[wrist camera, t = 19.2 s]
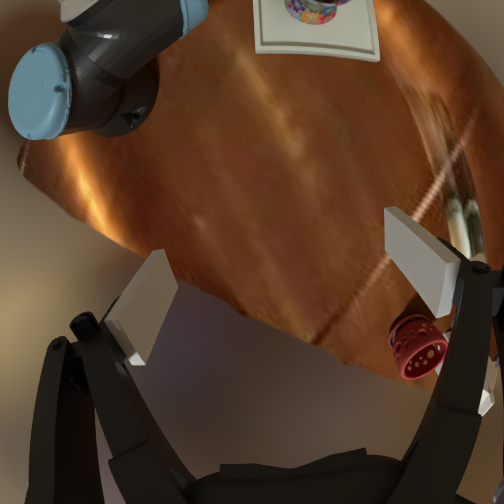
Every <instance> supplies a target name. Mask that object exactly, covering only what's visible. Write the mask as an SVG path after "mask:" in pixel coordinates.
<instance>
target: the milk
mask: <svg viewBox="0 0 504 504" xmlns="http://www.w3.org/2000/svg"><path fill="white" fill-rule="evenodd" d="M450 334H451V332H446V333H444V334H443V336H444V337H445V338H446V340H447V342H449V338H450ZM438 350H440V346H439V345H438ZM442 364H443V361H442V362H441V364H440V365H439V366H438V367H437V368H435V370H436V372H437V374H438V375H439V373H440V370H441V367H442ZM496 378H497V370H496V368H495V366H494V364H493V362H492V361H491V359H490V357H488V364H487V371H486V377H485V382H484V388H483V392H482V397H481V402H480V406H479V411H478V414H481V416H483V415H484V414H485V413H486V412H487V411H488V410H489V408H490V407H491V406H492V405H493V404H494V402H495V401H494V397H493V389H494V385H495V382H496Z"/></svg>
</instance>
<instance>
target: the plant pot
mask: <svg viewBox="0 0 504 504" xmlns="http://www.w3.org/2000/svg"><path fill="white" fill-rule="evenodd" d="M388 342H389V346H390V347H391V348H392V349H393V354H394V358H395V362H396V365H397V367H398V370H399V372H400V374H401V376H402V377H403V378H405V379H408V380H413V379H417V378H420V377H423V376H425V375H427V374H428V373H430V372H432V371H433V370H434V369H435V368H437V367H438V366H439V365H440V364H441V362H442V361H443V360H444V357H445V353H446V350H447V346H448V342H447V340H446V338H445V337H444V336H443V334H442V333H441V332H440V331H439V330H438V329H437V328H436V327H435V326H434V325H433V324H431V323H429V321H428V319H427V317H426V316H424V315H422V314H411V315H408V316H406V317H404V318H402V319H401V320H400V321H398V322H397V323H396V324H395V325H394V327H393V328H392V330H391V331H390V334H389V338H388ZM433 343H435V347H433ZM438 345H439V346H440V350H438ZM430 350H433V351H434V356H433V357H432V358H428V356H427V354H428V352H429V351H430ZM420 357H423V359H422V360H420V359H419V358H420ZM409 361H412V364H410V363H409ZM424 361H427V362H428V363H427V364H426V365H423V362H424ZM416 363H418V364H419V366H418V367H415V364H416ZM408 368H411V370H408Z"/></svg>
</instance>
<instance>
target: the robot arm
mask: <svg viewBox="0 0 504 504" xmlns="http://www.w3.org/2000/svg"><path fill="white" fill-rule="evenodd" d="M57 1H59V2H60V3H61V21H63V22H64V23H66V24H68V25H69V26H68V27H67V28H66V29H65V31H64V32H63V33H62V34H61V35H60V36H59V37H58V38H57V39H56V41H55V42H54V43H48V42H47V43H43V44H40V45H38V46H35V47H33V48H32V49H30V50H29V51H28V52H27V53H26V54H25V55H24V56H23V57H22V59H21V60H20V62H19V63H18V65H17V67H16V69H15V71H14V73H13V76H12V79H11V83H10V88H9V100H8V105H9V106H8V107H9V113H10V117H11V120H12V123H13V125H14V126H15V129H16V130H17V131H18V132H19V133H20V134H21V135H22V136H23V137H25V138H27V139H31V140H38V139H53V138H55V137H58V136H62V135H67V134H72V133H77V132H83V131H90V132H92V133H94V134H96V135H99V136H102V137H116V136H122V135H125V134H128V133H130V132H132V131H134V130H135V129H136V128H138V127H139V126H140V125H141V124H142V123H143V122H144V121H145V120H146V119H147V117H148V116H149V114H150V112H151V111H152V108H153V106H154V103H155V100H156V95H157V82H156V78H155V75H154V73H153V71H152V69H151V68H150V66H149V65H148V64H147V63H148V62H149V61H151V60H152V59H153V58H154V57H155V56H157V55H158V54H159V53H161V52H162V51H163V50H164V49H166V48H167V47H168V46H170V45H171V44H172V43H174V42H175V41H177V40H178V39H182V38H184V37H185V36H186V34H187V33H188V32H189V31H191V30H192V29H193V28H195V27H196V26H198V25H199V24H201V23H202V22H203V21H204V20H205V19H206V17H207V15H208V12H209V5H208V1H207V0H57ZM384 217H385V251H386V252H387V254H388V255H389V256H390V257H391V259H392V260H393V261H394V262H395V263H396V265H397V266H398V267H399V269H400V270H401V271H402V272H403V274H404V275H405V276H406V278H407V279H408V280H409V281H410V283H411V284H412V285H413V287H414V288H415V289H416V291H417V292H418V294H419V295H420V296H421V298H422V299H423V300H424V302H425V303H426V305H427V306H428V307H429V309H430V310H431V312H432V313H433V315H434V316H435V317H436V318H439V317H442V316H445V315H448V314H450V310H451V306H452V303H453V304H454V306H455V307H456V308H457V309H456V312H455V316H454V320H453V323H452V326H451V328H452V330H451V334H450V338H449V342H448V346H447V350H446V353H445V357H444V360H443V364H442V367H441V370H440V373H439V376H438V379H437V382H436V385H435V388H434V391H433V393H432V396H431V399H430V402H429V404H428V406H427V409H426V411H425V414H424V416H423V419H422V421H421V423H420V425H419V428H418V430H417V432H416V434H415V436H414V438H413V440H412V442H411V444H410V446H409V448H408V449H407V451H406V453H405V455H404V456H403V458H402V460H401V461H399V460H397V459H394V458H391V457H387V456H381V455H367V453H366V449H365V448H361V449H357V450H353V451H348V452H344V453H338V454H333V455H329V456H327V457H324V458H322V459H319V460H317V461H314V462H311V463H308V464H306V465H303V466H300V467H297V468H293V469H288V468H280V467H273V466H266V465H260V464H220V472H216V473H213V474H209V475H207V476H205V477H202V478H200V479H198V480H197V479H196V478H195V477H194V476H193V475H192V474H191V473H190V472H189V471H188V469H187V468H186V467H185V465H184V464H183V463H182V461H181V460H180V458H179V457H178V455H177V454H176V453H175V451H174V449H173V448H172V446H171V445H170V443H169V442H168V440H167V439H166V437H165V436H164V434H163V432H162V431H161V429H160V427H159V426H158V424H157V422H156V421H155V419H154V417H153V416H152V414H151V412H150V410H149V409H148V407H147V405H146V403H145V401H144V400H143V398H142V396H141V394H140V392H139V390H138V388H137V387H136V385H135V382H134V380H133V378H132V376H131V374H130V372H129V370H128V368H127V367H126V365H125V364H124V360H125V358H126V357H127V358H128V360H129V361H130V362H131V364H132V365H146V362H147V360H148V357H149V355H150V352H151V349H152V347H153V345H154V342H155V340H156V337H157V335H158V332H159V330H160V328H161V325H162V323H163V321H164V318H165V316H166V314H167V311H168V309H169V307H170V304H171V302H172V300H173V298H174V295H175V293H176V291H177V289H178V285H177V283H176V280H175V278H174V275H173V273H172V270H171V267H170V265H169V262H168V260H167V257H166V254H165V251H164V249H160V250H155V251H152V252H151V254H150V255H149V256H148V258H147V259H146V261H145V262H144V263H143V265H142V266H141V268H140V269H139V270H138V272H137V273H136V274H135V276H134V277H133V279H132V280H131V282H130V283H129V284H128V286H127V287H126V289H125V290H124V292H123V293H122V294H121V295H120V296H119V297H118V298H117V299H116V300H114V302H113V303H112V305H111V307H110V308H109V309H108V311H107V313H106V314H105V315H104V317H103V318H102V320H101V321H100V323H99V324H98V322H97V320H96V319H95V317H94V315H93V313H92V312H84V313H81V314H79V315H78V316H77V317H75V318H74V319H73V320H72V321H71V323H70V328H71V330H72V332H73V333H74V335H75V336H76V338H77V339H78V341H77V342H73V343H70V342H69V341H68V339H67V338H66V337H65V336H61V337H58V338H55V339H54V340H52V341H51V343H50V345H49V346H48V348H47V352H46V356H45V359H44V364H43V368H42V372H41V376H40V381H39V386H38V392H37V397H36V402H35V409H34V415H33V423H32V431H31V441H30V454H29V487H28V491H27V494H26V499H25V503H24V504H105V502H104V496H103V490H102V484H101V478H100V470H99V463H98V455H97V443H96V429H95V409H96V412H97V415H98V418H99V421H100V424H101V427H102V430H103V432H104V435H105V438H106V440H107V443H108V445H109V448H110V450H111V453H112V456H113V458H112V459H110V460H109V461H108V464H109V468H110V470H111V473H112V475H113V477H114V479H115V482H116V484H117V486H118V488H119V490H120V492H121V494H122V496H123V498H124V500H125V502H126V504H476V503H473V502H472V501H470V500H468V499H465V498H464V497H462V496H460V495H458V494H456V491H457V489H458V486H459V484H460V482H461V480H462V477H463V475H464V472H465V470H466V467H467V465H468V462H469V459H470V457H471V454H472V451H473V448H474V444H475V442H476V438H477V435H478V432H479V428H480V425H481V419H482V416H481V414H478V411H479V406H480V402H481V397H482V392H483V388H484V382H485V377H486V371H487V364H488V357H489V349H490V339H491V327H492V324H493V329H494V333H495V338H496V344H497V350H498V356H499V363H500V370H501V379H502V389H503V404H504V264H503V268H502V270H494V271H492V270H491V268H490V267H489V265H487V264H486V263H483V262H480V261H470V260H468V259H467V258H466V257H465V256H464V255H463V254H462V253H461V252H459V251H457V249H456V248H455V247H453V246H452V245H451V244H450V243H449V242H448V241H446V240H444V239H441V238H435V237H434V236H433V235H432V234H430V233H429V232H428V231H427V230H426V229H424V228H423V227H422V226H421V225H419V224H418V223H417V222H416V221H414V220H413V219H412V218H410V217H409V216H408V215H407V214H405V213H404V212H403V211H401V210H400V209H399V208H397V207H396V206H393V207H387V208H384ZM503 406H504V405H503ZM493 500H494V502H495V504H504V442H503V478H502V480H501V482H500V483H499V486H498V489H497V490H496V491H495V493H494V496H493Z"/></svg>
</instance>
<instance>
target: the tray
mask: <svg viewBox="0 0 504 504" xmlns="http://www.w3.org/2000/svg"><path fill="white" fill-rule="evenodd" d="M253 9H254V28H255V48H256V54H309V55H323V56H334V57H343V58H350V59H358V60H364V61H370V62H377V61H379V60H380V53H379V42H378V33H377V25H376V18H375V11H374V5H373V0H351V1H349V2H348V3H346V4H343V5H340V6H337V12H336V15H335V17H334V18H333V19H332V20H331V21H329V22H327V23H325V24H320V25H311V24H306V23H303V22H300V21H298V20H297V19H295V18H294V17H292V16H291V15H290V14H289V12H288V11H287V9H286V7H285V0H253Z"/></svg>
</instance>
